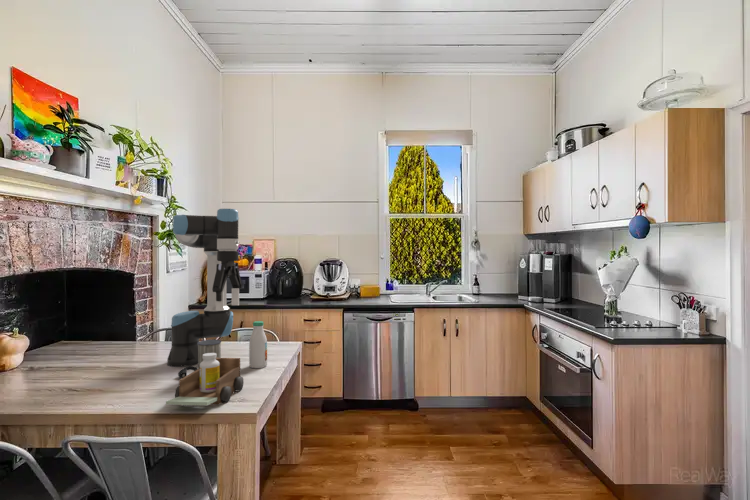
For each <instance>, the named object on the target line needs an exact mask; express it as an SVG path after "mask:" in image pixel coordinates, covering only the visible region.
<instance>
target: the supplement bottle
mask: <svg viewBox="0 0 750 500" xmlns="http://www.w3.org/2000/svg"><path fill="white" fill-rule="evenodd" d="M216 357H217V354H216V353H206V354H203V357H202V358H203V361H202V362H201V363H200V391H201V392H203V393H210V392H215V391H216V380H218V379H219V361H217V360H216Z"/></svg>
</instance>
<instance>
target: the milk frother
mask: <svg viewBox="0 0 750 500" xmlns="http://www.w3.org/2000/svg"><path fill="white" fill-rule="evenodd" d="M197 344H198V364H197V366H194V365H191V366H184V368H182V369H180V370H179V371H178V373H177V376H178V377H179V378H180V379H182V378H184V377H185V376H187V375H188V372H187V371H190V370H192V371H193V372H194V371H196V370H197V369H199V368H200V363H201V362H202V361H203V358H202V357H203V354H206V353H216V354H217V357H216V358H222V355H221V354H222V353H221V350H222V348H221V345H222V340H220V339H215V338H214V339H204V340H201V341H200V340H199V342H198V343H197ZM197 367H198V368H197Z"/></svg>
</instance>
